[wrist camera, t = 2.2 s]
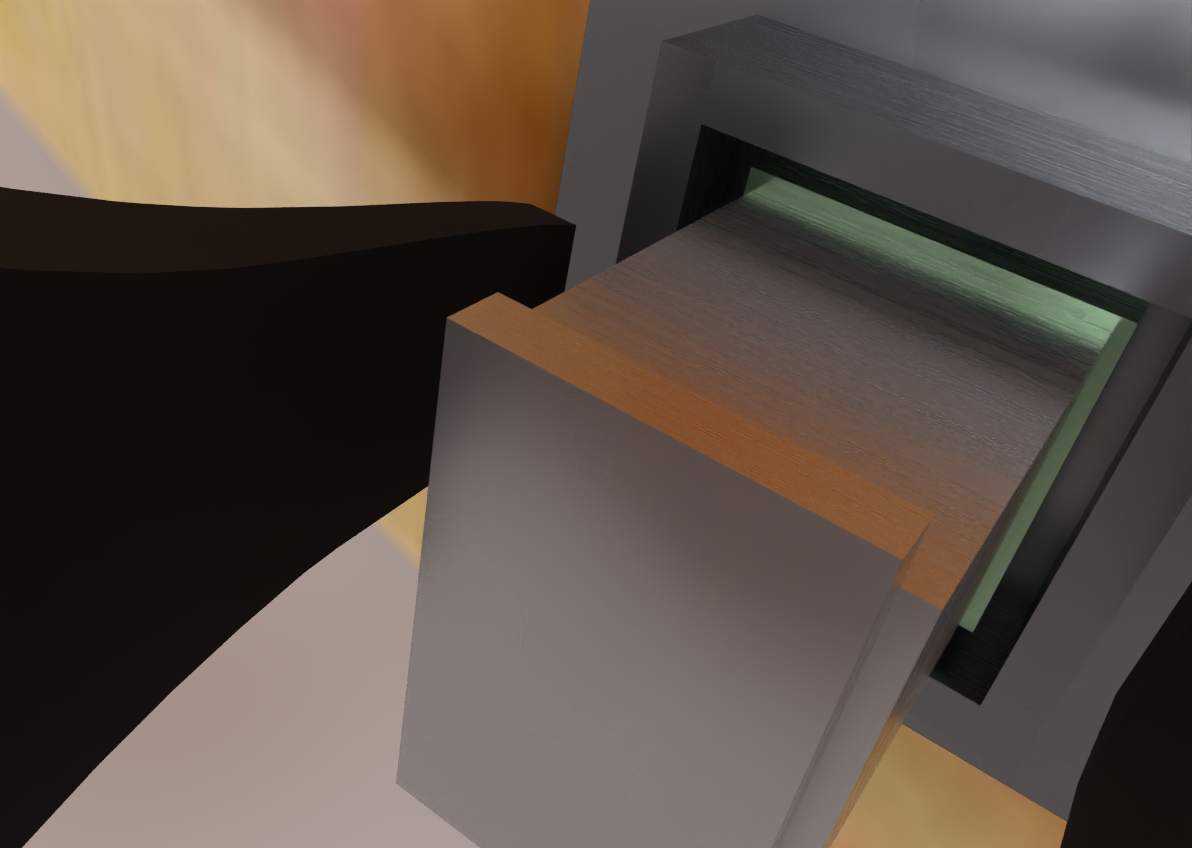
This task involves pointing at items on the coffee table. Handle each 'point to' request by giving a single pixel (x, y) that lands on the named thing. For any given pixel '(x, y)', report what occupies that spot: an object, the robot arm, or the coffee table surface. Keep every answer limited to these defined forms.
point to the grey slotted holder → (982, 205)
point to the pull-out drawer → (730, 515)
